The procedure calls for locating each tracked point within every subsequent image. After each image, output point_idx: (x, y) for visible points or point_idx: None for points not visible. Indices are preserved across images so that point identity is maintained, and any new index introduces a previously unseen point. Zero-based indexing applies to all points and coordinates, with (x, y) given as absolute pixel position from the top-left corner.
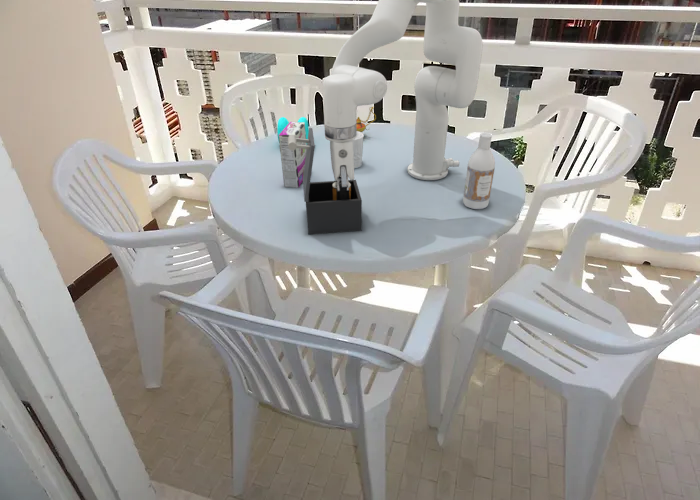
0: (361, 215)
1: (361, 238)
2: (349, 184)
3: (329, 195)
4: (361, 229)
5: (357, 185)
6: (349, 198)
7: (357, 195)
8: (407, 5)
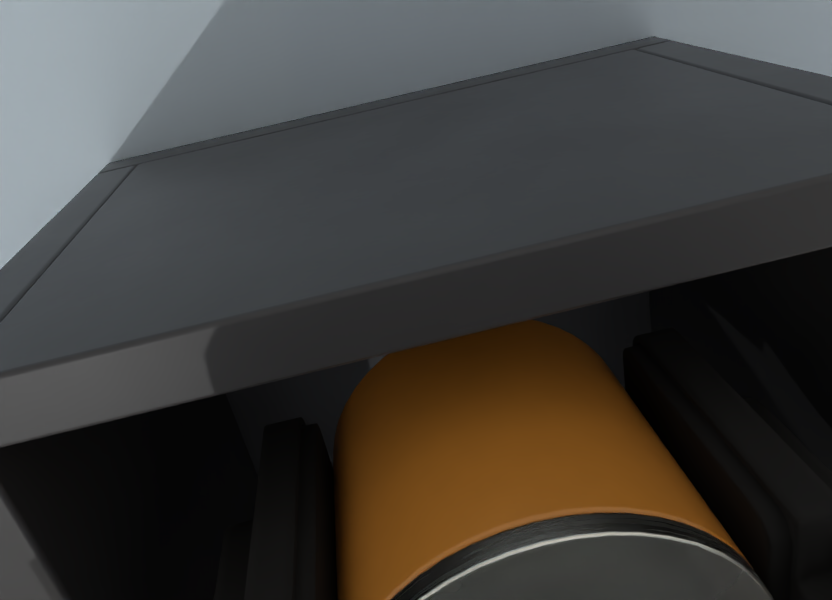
0: (785, 68)
1: (815, 24)
2: (553, 566)
3: None
4: (665, 40)
5: (225, 319)
6: (579, 362)
7: (786, 253)
8: None
